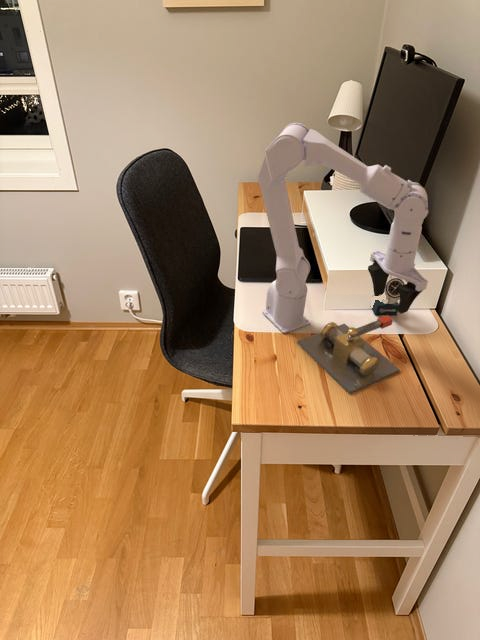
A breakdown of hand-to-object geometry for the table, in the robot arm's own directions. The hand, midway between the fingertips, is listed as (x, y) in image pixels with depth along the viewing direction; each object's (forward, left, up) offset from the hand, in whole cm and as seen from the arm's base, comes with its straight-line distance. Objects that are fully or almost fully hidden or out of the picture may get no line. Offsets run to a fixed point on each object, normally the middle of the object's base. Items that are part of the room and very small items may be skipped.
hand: (390, 302), depth 99 cm
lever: (+1, -6, -5) cm, 8 cm away
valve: (+1, -11, -10) cm, 15 cm away
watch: (-8, +9, -11) cm, 16 cm away
